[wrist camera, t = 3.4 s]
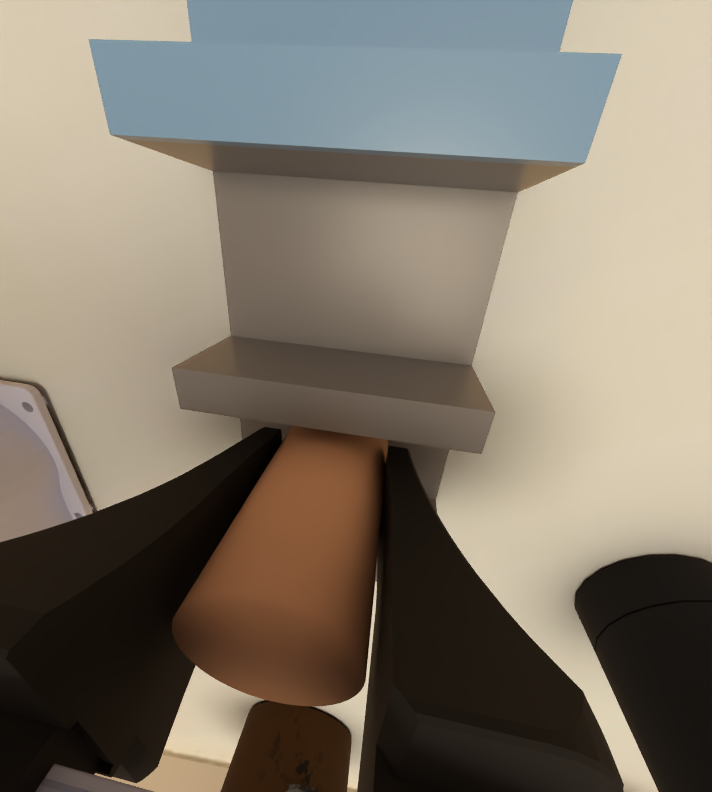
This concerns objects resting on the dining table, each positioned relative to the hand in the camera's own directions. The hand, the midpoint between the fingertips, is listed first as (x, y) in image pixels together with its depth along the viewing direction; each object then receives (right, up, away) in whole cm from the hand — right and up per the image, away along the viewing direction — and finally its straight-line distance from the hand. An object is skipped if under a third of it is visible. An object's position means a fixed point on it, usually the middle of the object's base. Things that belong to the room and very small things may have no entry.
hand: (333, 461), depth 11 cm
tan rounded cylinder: (0, +1, +1) cm, 1 cm away
